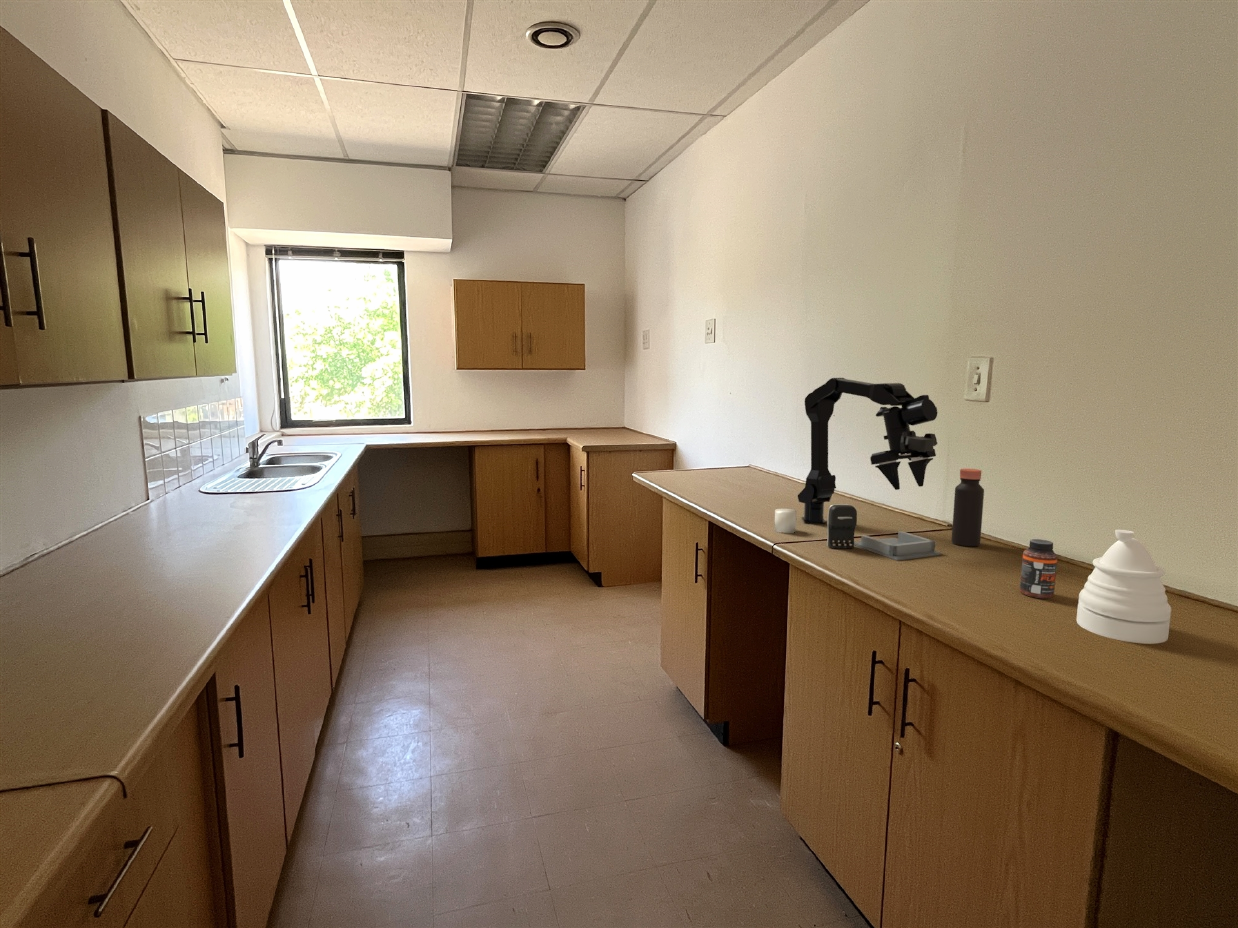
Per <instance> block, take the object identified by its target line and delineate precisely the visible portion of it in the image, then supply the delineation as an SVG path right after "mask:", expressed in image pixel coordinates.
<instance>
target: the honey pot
mask: <svg viewBox="0 0 1238 928" xmlns="http://www.w3.org/2000/svg"><path fill="white" fill-rule="evenodd" d="M1114 532H1115V533H1114V534H1115V538H1116V539H1117V540H1116V542H1114V543H1113V544H1112V545H1110V547H1109V548H1108V549H1107V550H1106V551H1105V553H1103V555H1102V556H1100V557H1097V558H1094V559H1093V561H1092V564H1093V567H1094V568H1093V571H1092V572H1091V574H1089V575H1088V577H1087V581H1086V582H1085V583H1084V587H1083V588H1082V589H1081V590H1080V592H1079V594H1078V603H1077V611H1076V612H1077V613H1076V623H1077V625H1079V627H1081V628H1083V629H1085V630H1086V631H1088V632H1091V633H1093V634H1096V635H1098V636H1102V637H1105V638H1108V639H1112V640H1118V641H1122V642H1128V643H1132V644H1133V643H1134V644H1136V643H1137V644H1145V645H1147V644H1149V645H1150V644H1151V645H1152V644H1161V643H1165V642H1167V641H1168V638H1169V633H1170V632H1169V631H1170V623H1171V613H1172V606H1171V605H1170V604H1169V603H1168V596H1167V595H1166V589H1167V588H1165V586H1164V585H1163V581H1162V577H1163V576H1165V574H1166V570H1165V569H1164V567H1162V566H1160V565H1158V564H1156V563H1155V561H1154V559H1153V557H1152V555H1151V553H1150V552H1149V550H1148V549H1147V547H1146V546H1145V544H1143V543H1142V542H1141V541H1140V540H1139V539H1137V538H1134V535H1135V531H1131V530H1128V529H1115V530H1114Z"/></svg>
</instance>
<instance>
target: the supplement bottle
mask: <svg viewBox="0 0 1238 928" xmlns="http://www.w3.org/2000/svg"><path fill="white" fill-rule="evenodd" d="M1028 546H1029V547H1028V548H1027V549H1025V550H1023V553H1022V563H1021V574H1020V582H1019V591H1020V593H1022V594H1023V595H1025V596H1028V597H1031V598H1035V599H1045V600H1046V599H1051V598H1053V597H1054V595H1055V587H1056V578H1057V570H1058V568H1057V567H1058V555H1057V553H1056V552H1055V551H1054V550H1053V549H1054V542H1053V541H1050V540H1047V539H1039V538H1037V539H1036V538H1032V539H1030V540H1029V545H1028Z"/></svg>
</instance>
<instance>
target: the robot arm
mask: <svg viewBox="0 0 1238 928" xmlns="http://www.w3.org/2000/svg"><path fill="white" fill-rule="evenodd" d="M843 394H846V395H847V394H848V395H853V396H858V397H859V396H860V397H863V398H867V399H869V400H870V401H871V402H873V403H876V404H878V405H881V406H880V408H879V410H878V411H877V412H876V414H875V416H876V417H877V418H878V417H879V418H880V417H883V420H884V425H885V426H884V427H885V430H886V431H885V433H886V435H883V439H884V441H885V440H887V442H888V447H889V450H883V451H879V452H874V453H872V454H871V455H870V458H869V459H870V464H871V465H873V466H874V465H875V466H874V467H875V468H877V470H879V471H880V472H881V473H882V475H883V476H884V477H885V478H886V480H887V481H888V482H889V484H890V485H891V486H892V488H893V489H894V490H895V491H898V490H900V488H901V487H900V477H899V466H900V464H901V463H902V462H901V461H900V460H905V459H906V460H908V462H907V465H908V467H909V469H910V470H911V473H912V476H913V478H914V480H915V482H916V485H917V486H918V487H919V488H921V487H924V482H925V477H926V470H927V466H928V464H929V463H930V462H931V461H933V460H934V458H933V457H937V453H936V450H935V448H934V447H936V446H937V445H938V442H937V441H938V440H937V437H936V434H935V433H925V434H924V435H923V436H919V435H917V433H916V431H915V430H911V428H910V426H913V427H914V426H917V425H921V424H925V423H929V422H933V421H935V420H936V419H937V417H938V408H937V406H936V405H935V403H934V402H933V400H931V399H930V397H929V396H930V395H928V394H921V395H919V396H917V397H914V396H913V395H912V394H911V393H910V392H909V391H908V390H907V389H906V387H905V385H904V383H901V382H893V383H892V382H889V383H888V382H887V383H886V382H885V383H872V382H865V381H862V380H861V381H860V380H853V379H847V378H845V377H831V378H830V379H828V380H827V381H826V382H824V383H823V384H821V386H819V387H817V388H815V389H813V390H812V392H810V393H808V394H807V395H806V396H805V398H804V409H805V414H806V416H807V418H808V420H809V421H810V471H809V472H808V474H807V476H806V477H805V485H804V488H803V489H802V490H801V491H800V492H799V493H798V495H797V499H798V502H799V503H802V504H804V511H803V516H801V521H802V522H803V524H817V525H818V524H823V525H825V524H827V520H825V519H824V513H825V512H824V510H825V509H824V508H825V503H828V502H829V503H830V502H831V499H832V496H833V495H834V493H835V489H837V486H836V479H837V478H836V477H837V476H836V475H835V474H833V475H832V474H831V471H830V470H829V421H830V420H831V417H832V416H833V414H834V409H835V404H836V403H837V402H838V401H840V399H841V397H842V395H843ZM888 406H891V407H888ZM899 406H901V407H899ZM898 460H899V461H898Z"/></svg>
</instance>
